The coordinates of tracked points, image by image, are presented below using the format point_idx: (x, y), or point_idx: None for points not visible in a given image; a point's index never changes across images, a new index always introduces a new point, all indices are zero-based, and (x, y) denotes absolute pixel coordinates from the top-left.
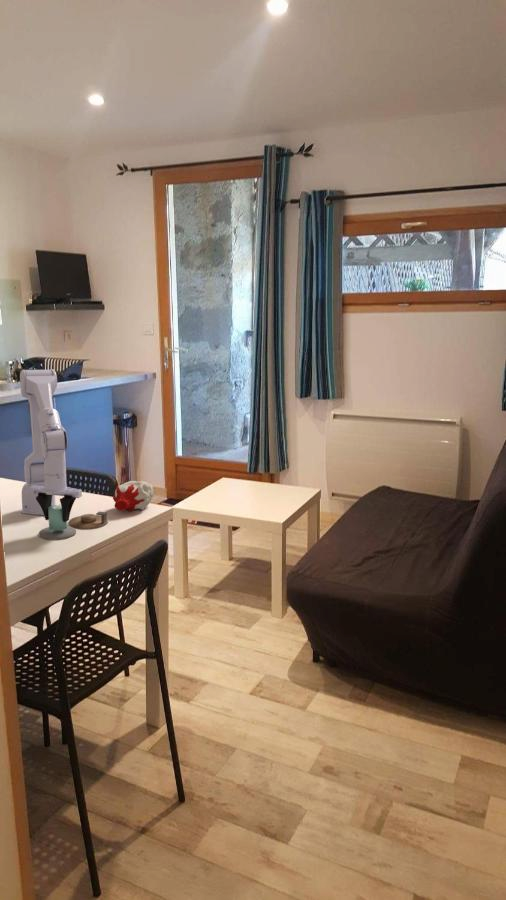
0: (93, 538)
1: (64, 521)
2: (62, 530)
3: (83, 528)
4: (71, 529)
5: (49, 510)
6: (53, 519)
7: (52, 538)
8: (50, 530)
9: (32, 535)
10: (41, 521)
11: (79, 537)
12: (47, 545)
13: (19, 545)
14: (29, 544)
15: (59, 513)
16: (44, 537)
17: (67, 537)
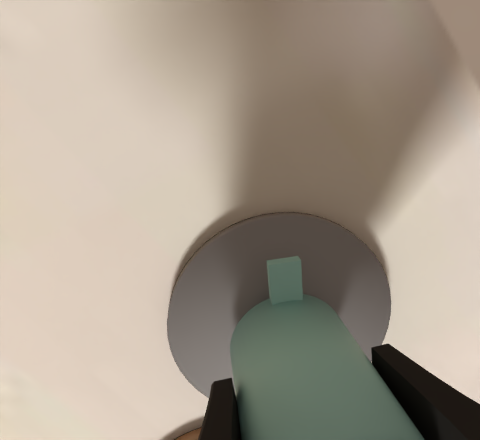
0: (28, 355)
1: (219, 383)
2: None
3: (194, 433)
4: None
5: (388, 422)
6: (304, 353)
7: (239, 225)
8: (283, 267)
9: (402, 228)
10: None
11: (118, 330)
12: (199, 123)
13: (379, 31)
14: (326, 82)
15: (266, 431)
16: (298, 214)
17: (174, 290)
